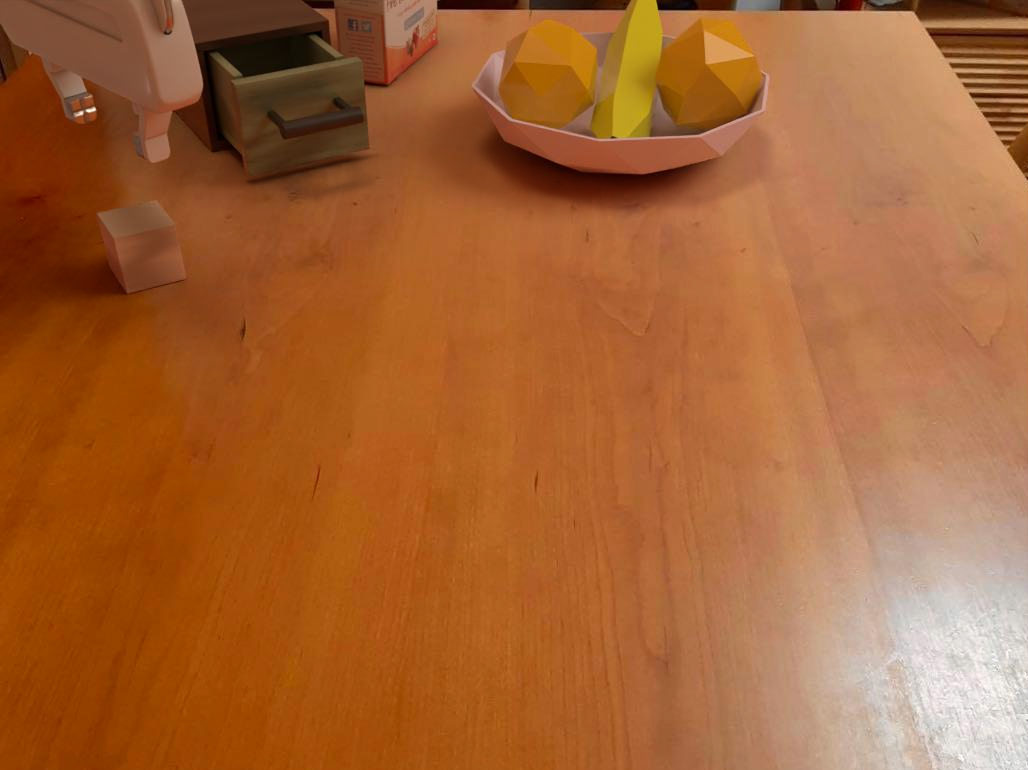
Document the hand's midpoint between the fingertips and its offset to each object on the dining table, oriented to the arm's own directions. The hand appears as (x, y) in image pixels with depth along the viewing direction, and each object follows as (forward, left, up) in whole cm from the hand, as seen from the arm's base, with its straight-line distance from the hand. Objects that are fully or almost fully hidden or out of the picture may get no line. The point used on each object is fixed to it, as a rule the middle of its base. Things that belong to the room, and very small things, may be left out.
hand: (117, 138), depth 82 cm
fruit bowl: (+46, +3, -11) cm, 47 cm away
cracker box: (+36, +32, -11) cm, 50 cm away
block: (0, 0, -11) cm, 11 cm away
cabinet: (+18, +27, -11) cm, 34 cm away
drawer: (+18, +16, -10) cm, 26 cm away
